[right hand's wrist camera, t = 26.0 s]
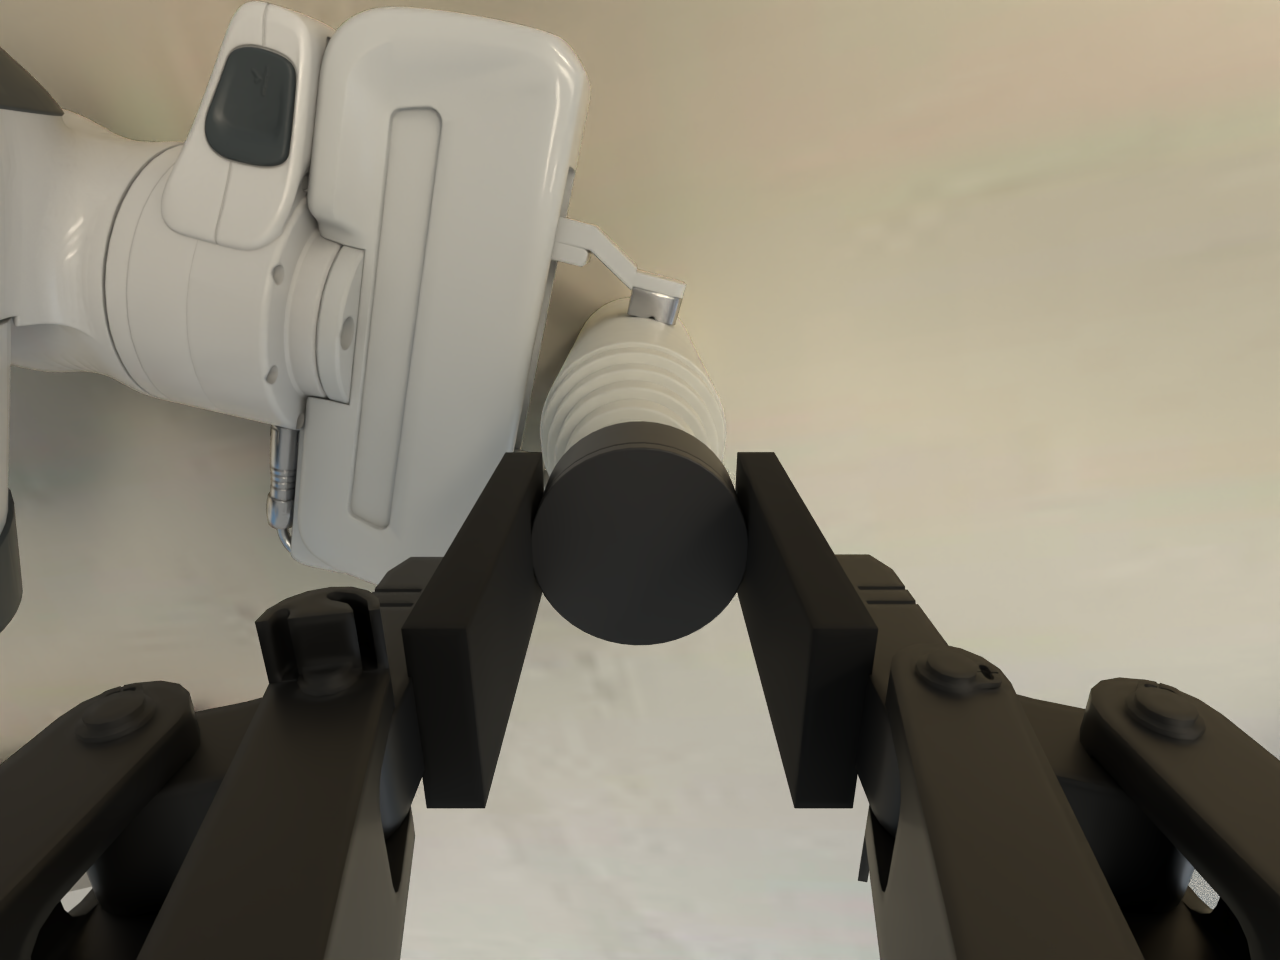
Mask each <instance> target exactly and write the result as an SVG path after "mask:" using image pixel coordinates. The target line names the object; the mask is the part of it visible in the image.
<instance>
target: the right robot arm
mask: <svg viewBox="0 0 1280 960" xmlns="http://www.w3.org/2000/svg"><path fill="white" fill-rule="evenodd" d="M735 492H736V495H737V497H738V500H739V503H740V506H741V508H742V511H743V514H744V517H745V520H746V524H747V528H748V549H747V564H746V572H745V575H744V578H743V581H742V583H741V585H740V587H739V589H738V591H737V593H738V597H739V601H740V604H741V608H742V612H743V616H744V619H745V623H746V627H747V631H748V635H749V638H750V642H751V646H752V650H753V653H754V657H755V661H756V665H757V668H758V672H759V676H760V680H761V684H762V687H763V691H764V695H765V699H766V702H767V706H768V710H769V714H770V717H771V721H772V725H773V729H774V733H775V736H776V740H777V744H778V748H779V751H780V755H781V759H782V763H783V766H784V770H785V774H786V778H787V782H788V785H789V789H790V793H791V797H792V800H793V804H794V808H853V802H854V795H855V788H856V782H857V775H858V776H859V779H860V781H861V784H862V786H863V789H864V791H865V794H866V796H867V799H868V801H869V811H868V817H867V823H866V830H865V836H864V843H863V849H862V856H861V862H860V869H859V877H858V881H863V882H867V880H868V874H869V872H870V880H871V888H872V897H873V905H874V913H875V921H876V929H877V937H878V945H879V953H880V960H1280V761H1279V760H1278V759H1277V758H1276V757H1274V756H1273V755H1272V754H1271V753H1270V752H1268V751H1267V750H1266V749H1265V748H1263V747H1262V746H1261V745H1260V744H1258V743H1257V742H1256V741H1255V740H1253V739H1252V738H1251V737H1250V736H1248V735H1247V734H1246V733H1245V732H1243V731H1242V730H1241V729H1240V728H1238V727H1237V726H1236V725H1235V724H1233V723H1232V722H1231V721H1230V720H1228V719H1227V718H1226V717H1225V716H1223V715H1222V714H1221V713H1219V712H1218V711H1216V710H1215V709H1213V708H1211V707H1210V706H1208V705H1207V704H1205V703H1204V702H1202V701H1201V700H1199V699H1197V698H1195V697H1193V696H1190V695H1188V694H1186V693H1183V692H1181V691H1179V690H1178V689H1176V688H1174V687H1171V686H1168V685H1165V684H1162V683H1160V684H1158V683H1156V682H1154V681H1149V680H1142V679H1130V678H1114V679H1108V680H1102V681H1100V682H1099V683H1098V684H1097V685H1095V686H1094V687H1093V688H1092V689H1091V691H1090V695H1089V699H1088V702H1087V706H1086V709H1082V708H1077V707H1072V706H1067V705H1062V704H1057V703H1052V702H1047V701H1042V700H1037V699H1033V698H1029V697H1025V696H1021V695H1017V694H1016V692H1015V690H1014V688H1013V686H1012V684H1011V682H1010V681H1009V680H1008V679H1007V677H1006V676H1005V675H1004V674H1003V672H1002V671H1001V670H1000V669H999V668H997V667H996V666H995V665H993V664H992V663H990V662H989V661H987V660H986V659H984V658H983V657H981V656H978V655H976V654H973V653H971V652H968V651H966V650H963V649H961V648H956V647H952V646H948V644H947V643H946V642H945V640H944V639H943V638H942V636H941V635H940V633H939V632H938V631H937V629H936V628H935V627H934V625H933V624H932V623H931V621H930V620H929V619H928V617H927V616H926V614H925V613H924V612H923V610H922V609H921V608H920V606H919V605H918V604H915V599H914V598H913V597H912V595H911V594H910V593H909V591H908V590H905V586H904V585H903V583H902V582H901V580H900V579H899V578H898V576H897V575H896V574H895V572H894V571H893V570H892V569H891V568H890V567H888V566H886V565H885V564H883V563H882V562H880V561H878V560H877V559H875V558H874V557H872V556H871V555H835V554H834V553H833V551H832V549H831V548H830V546H829V544H828V543H827V541H826V539H825V538H824V536H823V534H822V532H821V531H820V529H819V527H818V526H817V524H816V522H815V521H814V519H813V517H812V516H811V514H810V512H809V511H808V509H807V507H806V505H805V504H804V502H803V500H802V499H801V497H800V495H799V494H798V492H797V490H796V489H795V487H794V485H793V483H792V482H791V480H790V478H789V477H788V475H787V473H786V472H785V470H784V468H783V467H782V465H781V463H780V462H779V460H778V458H777V456H776V455H775V453H774V452H737V470H736V489H735ZM543 493H544V479H543V460H542V452H505V454H504V456H503V457H502V459H501V461H500V462H499V464H498V466H497V467H496V469H495V471H494V473H493V474H492V476H491V478H490V479H489V481H488V483H487V484H486V486H485V488H484V489H483V491H482V493H481V494H480V496H479V498H478V500H477V501H476V503H475V505H474V506H473V508H472V510H471V511H470V513H469V515H468V516H467V518H466V520H465V521H464V523H463V525H462V527H461V528H460V530H459V532H458V533H457V535H456V537H455V538H454V540H453V542H452V543H451V545H450V547H449V548H448V550H447V552H446V554H445V555H444V557H410V558H408V559H406V560H405V561H403V562H402V563H400V564H399V565H397V566H395V567H394V568H392V569H391V570H389V571H388V572H387V573H386V574H385V576H384V577H383V578H382V580H381V581H380V583H379V584H378V585H377V587H376V588H375V592H372V593H371V592H370V591H367V590H363V589H359V588H355V587H328V588H323V589H317V590H312V591H307V592H304V593H301V594H298V595H295V596H293V597H290V598H287V599H285V600H283V601H281V602H279V603H278V604H276V605H274V606H272V607H271V608H269V609H267V610H266V611H265V612H264V613H263V614H262V615H261V616H260V617H259V618H258V619H257V620H256V622H255V624H256V628H257V633H258V637H259V641H260V646H261V650H262V654H263V659H264V663H265V667H266V672H267V676H268V680H269V685H268V687H267V689H266V692H265V694H264V696H263V698H259V699H255V700H251V701H248V702H243V703H238V704H233V705H228V706H223V707H218V708H213V709H208V710H203V711H198V712H195V711H194V708H193V704H192V701H191V697H190V694H189V692H188V691H187V690H186V689H185V688H183V687H182V686H181V685H180V684H177V683H171V682H165V681H152V682H142V683H133V684H128V685H124V687H121V686H120V687H116V688H113V689H110V690H107V691H105V692H103V693H102V694H100V695H98V696H96V697H93V698H91V699H89V700H86V701H84V702H82V703H80V704H79V705H77V706H76V707H74V708H73V709H71V710H70V711H68V712H67V713H65V714H64V715H62V716H61V717H59V718H58V719H56V720H55V721H54V722H53V723H51V724H50V725H49V726H48V727H47V728H45V729H44V730H43V731H42V732H40V733H39V734H38V735H37V736H35V737H34V738H33V739H32V740H30V741H29V742H28V743H27V744H26V745H24V746H23V747H22V748H21V749H19V750H18V751H17V752H16V753H14V754H13V755H12V756H11V757H10V758H8V759H7V760H6V761H5V762H3V763H2V764H1V765H0V960H400V955H401V947H402V939H403V931H404V923H405V914H406V906H407V898H408V890H409V882H410V874H411V865H412V857H413V849H414V841H415V831H414V824H413V817H412V811H411V804H412V801H413V798H414V796H415V793H416V791H417V788H418V786H419V783H420V781H421V778H423V785H424V792H425V799H426V806H427V808H485V806H486V802H487V799H488V795H489V791H490V787H491V784H492V780H493V776H494V772H495V768H496V765H497V761H498V757H499V753H500V750H501V746H502V742H503V738H504V735H505V731H506V727H507V723H508V719H509V716H510V712H511V708H512V704H513V701H514V697H515V693H516V689H517V686H518V682H519V678H520V674H521V670H522V667H523V663H524V659H525V655H526V652H527V648H528V644H529V640H530V637H531V633H532V629H533V625H534V622H535V618H536V614H537V610H538V606H539V603H540V599H541V595H542V590H541V588H540V587H539V585H538V582H537V580H536V577H535V575H534V571H533V557H532V540H531V530H532V525H533V521H534V518H535V515H536V512H537V509H538V507H539V504H540V501H541V498H542V496H543ZM1194 869H1196V870H1197V872H1198V873H1199V874H1200V875H1201V876H1202V877H1203V878H1204V879H1205V880H1206V881H1207V883H1208V884H1209V885H1210V886H1211V887H1212V888H1213V889H1214V890H1215V891H1216V893H1217V894H1218V895H1219V896H1220V899H1219V901H1218V903H1217V906H1216V907H1215V908H1214V910H1213V909H1211V908H1210V907H1208V906H1207V905H1206V904H1205V903H1204V902H1203V901H1202V900H1201V899H1200V898H1199V897H1198V896H1197V895H1196V894H1195V893H1194V891H1193V890H1192V889H1191V888H1190V887H1189V886H1188V884H1189V882H1190V879H1191V876H1192V874H1193V871H1194ZM85 873H87V876H88V878H89V881H90V883H91V886H92V889H91V890H90V891H89V893H88V894H87V895H86V896H85V897H84V898H83V900H82V901H81V902H80V903H78V904H77V905H76V906H75V907H74V908H73V909H71V910H70V911H69V912H67V911H65V910H64V907H63V905H62V903H61V899H62V898H63V897H64V896H65V895H66V894H67V893H68V892H69V891H70V889H71V888H72V887H73V886H74V885H75V884H76V883H77V882H78V881H79V879H80V878H81V877H82V876H83V875H84V874H85Z"/></svg>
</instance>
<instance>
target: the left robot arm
mask: <svg viewBox="0 0 1280 960" xmlns="http://www.w3.org/2000/svg"><path fill="white" fill-rule="evenodd" d="M590 97H591V86H590V81H589V78H588V76H587V73H586V71H585V69H584V67H583V65H582V63H581V61H580V60H579V58H578V56H577V55H576V53H575V52H574V50H573V49H572V48H571V46H570V45H569V44H568V43H567V42H566V41H565V40H563V39H562V38H560V37H558V36H557V35H554V34H552V33H549V32H546V31H543V30H539V29H536V28H533V27H529V26H524V25H520V24H516V23H512V22H507V21H503V20H498V19H493V18H488V17H483V16H477V15H471V14H465V13H459V12H452V11H444V10H436V9H427V8H417V7H402V6H389V7H379V8H373V9H369V10H366V11H362V12H360V13H358V14H356V15H354V16H352V17H350V18H349V19H348V20H346V21H345V22H344V23H343V24H342V25H341V26H340V27H339V28H338V29H337V30H335V29H333V28H332V27H330V26H328V25H327V24H325V23H323V22H321V21H319V20H316V19H314V18H312V17H310V16H307V15H305V14H303V13H300V12H297V11H294V10H291V9H288V8H285V7H282V6H278V5H275V4H271V3H267V2H261V1H250V2H246V3H244V4H243V5H241V6H240V7H239V8H238V9H237V11H236V12H235V14H234V15H233V17H232V19H231V21H230V23H229V26H228V28H227V31H226V33H225V36H224V39H223V42H222V45H221V48H220V51H219V54H218V57H217V60H216V62H215V65H214V68H213V71H212V74H211V77H210V80H209V82H208V85H207V88H206V91H205V93H204V96H203V99H202V101H201V104H200V107H199V109H198V112H197V114H196V117H195V119H194V122H193V124H192V127H191V129H190V131H189V134H188V136H187V138H186V141H185V142H183V141H155V142H145V141H136V140H131V139H127V138H125V137H122V136H120V135H117V134H115V133H113V132H111V131H110V130H108V129H106V128H104V127H103V126H101V125H99V124H97V123H95V122H93V121H92V120H90V119H88V118H86V117H83V116H81V115H79V114H77V113H74V112H71V111H69V110H65V109H62V108H60V106H59V105H58V104H57V102H56V101H55V100H54V99H53V98H52V97H51V95H50V94H49V93H48V92H47V91H46V90H45V89H44V88H43V87H42V86H41V85H40V84H39V82H38V81H36V80H35V79H34V78H33V77H32V76H31V75H30V74H29V73H28V72H27V71H26V70H25V69H24V68H23V67H22V66H21V65H20V64H18V63H17V62H16V61H15V60H14V59H13V58H12V57H11V56H10V55H9V54H8V53H6V52H5V51H4V50H3V49H2V48H1V47H0V633H1V632H2V631H3V629H4V628H5V627H6V626H7V625H8V623H9V622H10V621H11V620H12V618H13V617H14V615H15V613H16V612H17V610H18V607H19V605H20V602H21V598H22V592H23V590H22V578H21V568H20V559H19V549H18V539H17V529H16V519H15V509H14V501H13V498H12V494H11V491H10V489H9V487H8V480H9V419H10V365H13V366H17V367H21V368H26V369H32V370H38V371H45V372H81V371H86V372H94V373H98V374H103V375H106V376H108V377H111V378H113V379H115V380H117V381H119V382H120V383H122V384H124V385H126V386H128V387H130V388H131V389H133V390H135V391H137V392H140V393H142V394H145V395H148V396H151V397H154V398H158V399H161V400H166V401H171V402H175V403H180V404H183V405H188V406H192V407H197V408H201V409H205V410H210V411H214V412H218V413H223V414H227V415H232V416H236V417H240V418H245V419H249V420H253V421H258V422H262V423H266V424H271V434H270V454H269V456H270V471H271V472H270V473H271V485H270V492H269V494H268V497H267V503H266V514H267V520H268V524H269V525H270V526H271V527H273V528H275V529H277V533H278V536H279V538H280V540H281V542H282V544H283V545H284V547H285V548H286V549H287V550H288V551H289V552H290V554H291V556H292V558H293V559H294V560H296V561H298V562H300V563H302V564H304V565H307V566H310V567H315V568H320V569H324V570H329V571H334V572H339V573H346V574H348V575H351V576H353V577H356V578H359V579H361V580H364V581H366V582H369V583H372V584H375V585H378V584H379V583H380V581H381V580H382V578H383V577H384V576H385V574H386V573H387V572H388V571H389V570H391V569H392V568H394V567H395V566H397V565H399V564H400V563H402V562H403V561H405V560H406V559H408V558H410V557H444V555H445V554H446V552H447V550H448V548H449V547H450V545H451V543H452V542H453V540H454V538H455V537H456V535H457V533H458V532H459V530H460V528H461V527H462V525H463V523H464V521H465V520H466V518H467V516H468V515H469V513H470V511H471V510H472V508H473V506H474V505H475V503H476V501H477V500H478V498H479V496H480V494H481V493H482V491H483V489H484V488H485V486H486V484H487V483H488V481H489V479H490V478H491V476H492V474H493V473H494V471H495V469H496V467H497V466H498V464H499V462H500V461H501V459H502V457H503V456H504V454H505V452H526V451H522V450H521V446H522V441H523V436H524V431H525V425H526V420H527V415H528V410H529V405H530V400H531V395H532V390H533V385H534V380H535V375H536V370H537V365H538V360H539V355H540V350H541V345H542V340H543V335H544V330H545V325H546V320H547V315H548V309H549V304H550V299H551V294H552V289H553V284H554V279H555V274H556V269H557V264H558V261H560V262H564V263H568V264H572V265H576V266H580V267H582V266H584V265H585V264H587V263H588V262H589V261H590V257H591V253H593V254H594V255H595V256H596V257H597V258H598V259H599V260H600V261H601V262H602V263H603V264H604V265H605V266H606V267H608V268H609V269H610V270H611V271H612V272H613V273H614V274H615V275H616V276H617V277H618V278H619V279H620V280H621V281H622V282H623V283H624V284H625V285H626V286H627V287H628V288H629V289H630V290H632V291H631V296H630V301H629V305H628V311H627V314H629V315H632V316H636V317H640V318H649V317H651V316H653V317H654V318H655V319H656V320H657V321H658V322H661V323H664V324H668V325H675V324H676V320H677V317H678V313H679V310H680V306H681V303H682V298H683V295H684V291H685V287H686V284H685V282H682V281H679V280H677V279H673V278H670V277H666V276H662V275H658V274H654V273H651V272H647V271H643V270H639V269H637V265H636V264H635V263H634V262H633V261H632V260H631V259H630V258H629V257H628V256H627V255H626V254H625V253H624V252H623V251H622V250H621V249H620V248H619V247H618V246H617V245H616V244H615V243H614V242H613V241H612V240H611V239H610V238H609V237H608V236H607V235H606V234H605V233H604V232H603V231H602V230H601V229H600V228H599V226H597V225H593V224H589V223H585V222H582V221H578V220H574V219H571V218H567V214H568V209H569V204H570V199H571V193H572V188H573V183H574V178H575V173H576V168H577V163H578V158H579V153H580V148H581V143H582V138H583V133H584V128H585V123H586V118H587V113H588V107H589V102H590ZM542 460H543V457H542ZM543 479H544V490H545V487H546V485H547V482H548V479H549V475H548V473H547V470H545V464H544V461H543ZM291 527H292V537H291V536H290V533H289V530H288V528H291Z"/></svg>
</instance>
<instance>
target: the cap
mask: <svg viewBox="0 0 1280 960" xmlns="http://www.w3.org/2000/svg"><path fill="white" fill-rule="evenodd" d="M531 540H532V557H533V571H534V575H535V577H536V580H537V582H538V585H539V587H540V588H541V590H542V592H543V594H544V595H545V597H546V598H547V600H548V601H549V602H550V604H551V605H552V606H553V608H554V609H555V610H556V611H557V612H558V613H559V614H560V615H561V616H562V617H564V618H565V619H566V620H567V621H569V622H570V623H571V624H572V625H574V626H576V627H577V628H579V629H581V630H582V631H584V632H586V633H588V634H590V635H592V636H595V637H597V638H600V639H603V640H606V641H610V642H615V643H620V644H628V645H652V644H659V643H665V642H669V641H673V640H676V639H679V638H682V637H684V636H687V635H689V634H691V633H693V632H695V631H697V630H699V629H701V628H702V627H704V626H705V625H706V624H708V623H709V622H711V621H712V620H713V619H714V618H715V617H717V616H718V615H719V614H720V613H721V612H722V611H723V610H724V609H725V607H726V606H727V605H728V604H729V603H730V601H731V600H732V598H733V597H734V595H735V594H736V593H737V591H738V589H739V587H740V585H741V583H742V581H743V578H744V575H745V572H746V564H747V549H748V528H747V524H746V520H745V517H744V514H743V511H742V508H741V506H740V503H739V500H738V497H737V495H736V492H735V489H734V486H733V484H732V481H731V479H730V476H729V474H728V472H727V470H726V469H725V467H724V465H723V464H722V462H721V461H720V460H719V458H718V457H717V456H716V455H715V453H714V452H713V451H712V450H711V449H709V448H708V447H707V446H706V445H705V444H704V443H703V442H701V441H700V440H698V439H697V438H696V437H694V436H692V435H690V434H689V433H687V432H685V431H683V430H680V429H678V428H675V427H672V426H670V425H665V424H661V423H656V422H646V421H632V422H624V423H618V424H614V425H610V426H607V427H604V428H601V429H599V430H597V431H594V432H592V433H590V434H589V435H587V436H585V437H584V438H582V439H581V440H579V441H578V442H577V443H576V444H574V445H573V446H572V447H571V448H570V449H569V450H568V451H567V452H566V453H565V454H564V455H563V456H562V457H561V459H560V460H559V461H558V463H557V464H556V466H555V467H554V469H553V471H552V473H551V475H550V477H549V479H548V482H547V485H546V487H545V490H544V493H543V496H542V498H541V501H540V504H539V507H538V509H537V512H536V515H535V518H534V521H533V525H532V530H531Z"/></svg>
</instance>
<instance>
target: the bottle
mask: <svg viewBox="0 0 1280 960" xmlns="http://www.w3.org/2000/svg"><path fill="white" fill-rule="evenodd" d="M629 301H630V297H628V298H622V299H617V300H615V301H612V302H609V303H607V304H606V305H604V306H602V307H601V308H599V309H598V310H597V311H596V312H594V313H593V314H592V315H591V316H590V318H589V319H588V320H587V321H586V323H585V324H584V326H583V328H582V329H581V331H580V333H579V335H578V337H577V339H576V341H575V343H574V345H573V347H572V349H571V351H570V353H569V354H568V356H567V358H566V360H565V362H564V364H563V366H562V368H561V370H560V372H559V374H558V376H557V378H556V380H555V381H554V383H553V385H552V387H551V389H550V391H549V393H548V396H547V398H546V400H545V403H544V407H543V410H542V414H541V422H540V440H541V450H542V457H543V461H544V464H545V468H546V470H547V473H548V475H549V477H550V475H551V473H552V471H553V469H554V467H555V466H556V464H557V463H558V461H559V460H560V459H561V457H562V456H563V455H564V454H565V453H566V452H567V451H568V450H569V449H570V448H571V447H572V446H573V445H574V444H576V443H577V442H578V441H579V440H581V439H582V438H584V437H585V436H587V435H589V434H590V433H592V432H594V431H597V430H599V429H601V428H604V427H607V426H610V425H614V424H618V423H624V422H632V421H646V422H656V423H661V424H665V425H670V426H672V427H675V428H678V429H680V430H683V431H685V432H687V433H689V434H690V435H692V436H694V437H696V438H697V439H698V440H700V441H701V442H703V443H704V444H705V445H706V446H707V447H708V448H709V449H711V450H712V451H713V452H714V453H715V455H716V456H717V457H718V458H719V460H720V461H721V462H722V461H723V457H724V451H725V443H726V419H725V414H724V409H723V406H722V403H721V400H720V397H719V395H718V393H717V391H716V389H715V387H714V385H713V383H712V381H711V379H710V377H709V375H708V373H707V371H706V369H705V367H704V365H703V362H702V360H701V358H700V356H699V354H698V352H697V350H696V348H695V346H694V344H693V342H692V340H691V338H690V336H689V334H688V332H687V330H686V328H685V326H684V324H683V323H682V321H681V320H680V319H679V318H678V317H677V320H676V324H675V325H668V324H664V323H661V322H658V321H657V320H656V319H655V318H654V317H653V316H651V317H649V318H640V317H636V316H632V315H629V314H627V311H628V305H629Z"/></svg>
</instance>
